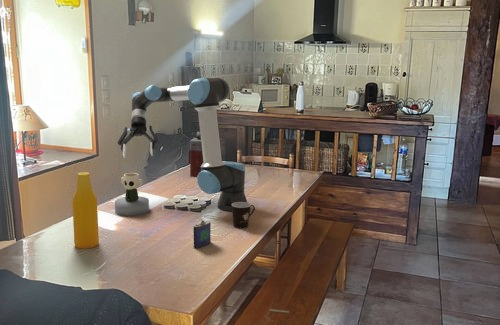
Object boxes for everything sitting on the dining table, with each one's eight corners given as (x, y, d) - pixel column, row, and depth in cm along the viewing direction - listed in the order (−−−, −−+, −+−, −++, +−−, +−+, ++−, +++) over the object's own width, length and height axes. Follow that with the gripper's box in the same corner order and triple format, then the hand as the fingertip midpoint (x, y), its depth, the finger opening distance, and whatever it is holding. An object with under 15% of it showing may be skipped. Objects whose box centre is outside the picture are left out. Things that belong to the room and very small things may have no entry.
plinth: (153, 213, 232) (153, 203, 231) (119, 217, 225) (119, 207, 224) (143, 204, 246) (143, 194, 245) (111, 208, 238) (111, 198, 237)
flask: (207, 241, 199) (207, 216, 197) (212, 242, 197) (213, 217, 195) (191, 247, 192) (191, 222, 190) (197, 249, 190) (197, 223, 188)
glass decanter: (190, 173, 314) (190, 130, 308) (207, 174, 312) (207, 131, 306) (186, 176, 305) (186, 132, 299) (203, 177, 303) (204, 133, 297)
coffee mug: (233, 230, 213) (234, 208, 211) (229, 223, 221) (229, 202, 219) (259, 228, 216) (259, 206, 214) (253, 221, 224) (254, 201, 222)
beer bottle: (103, 241, 195) (100, 171, 189) (90, 250, 186) (86, 177, 180) (83, 239, 198) (80, 169, 191) (69, 247, 189) (65, 175, 183)
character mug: (118, 201, 232) (117, 175, 230) (125, 197, 239) (124, 172, 236) (138, 203, 230) (137, 177, 227) (145, 199, 236) (145, 173, 234)
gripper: (164, 122, 256) (164, 157, 246) (116, 125, 255) (114, 160, 245) (161, 114, 249) (161, 150, 239) (112, 117, 248) (110, 153, 238)
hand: (137, 155), depth 242 cm, fingers open, 13 cm apart
